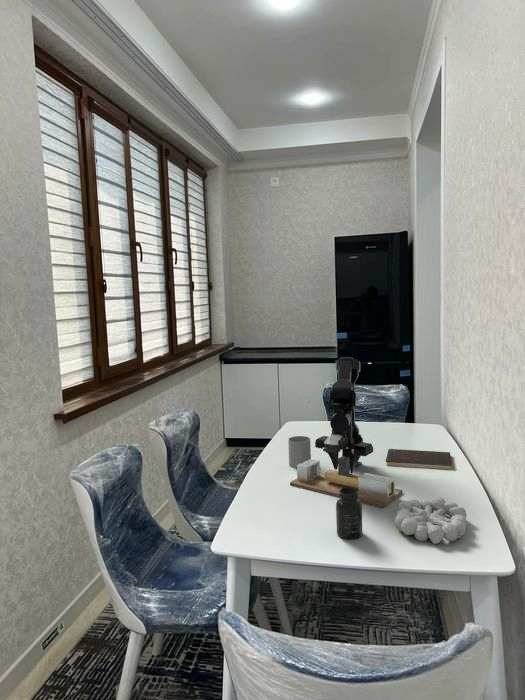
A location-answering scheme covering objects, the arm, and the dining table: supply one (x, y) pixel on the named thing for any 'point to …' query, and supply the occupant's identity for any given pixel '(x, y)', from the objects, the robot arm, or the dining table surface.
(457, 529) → the campfire
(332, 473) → the brass t-shaped handle
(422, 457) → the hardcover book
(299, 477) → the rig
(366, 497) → the board
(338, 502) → the supplement bottle
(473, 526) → the dining table surface
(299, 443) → the cup
